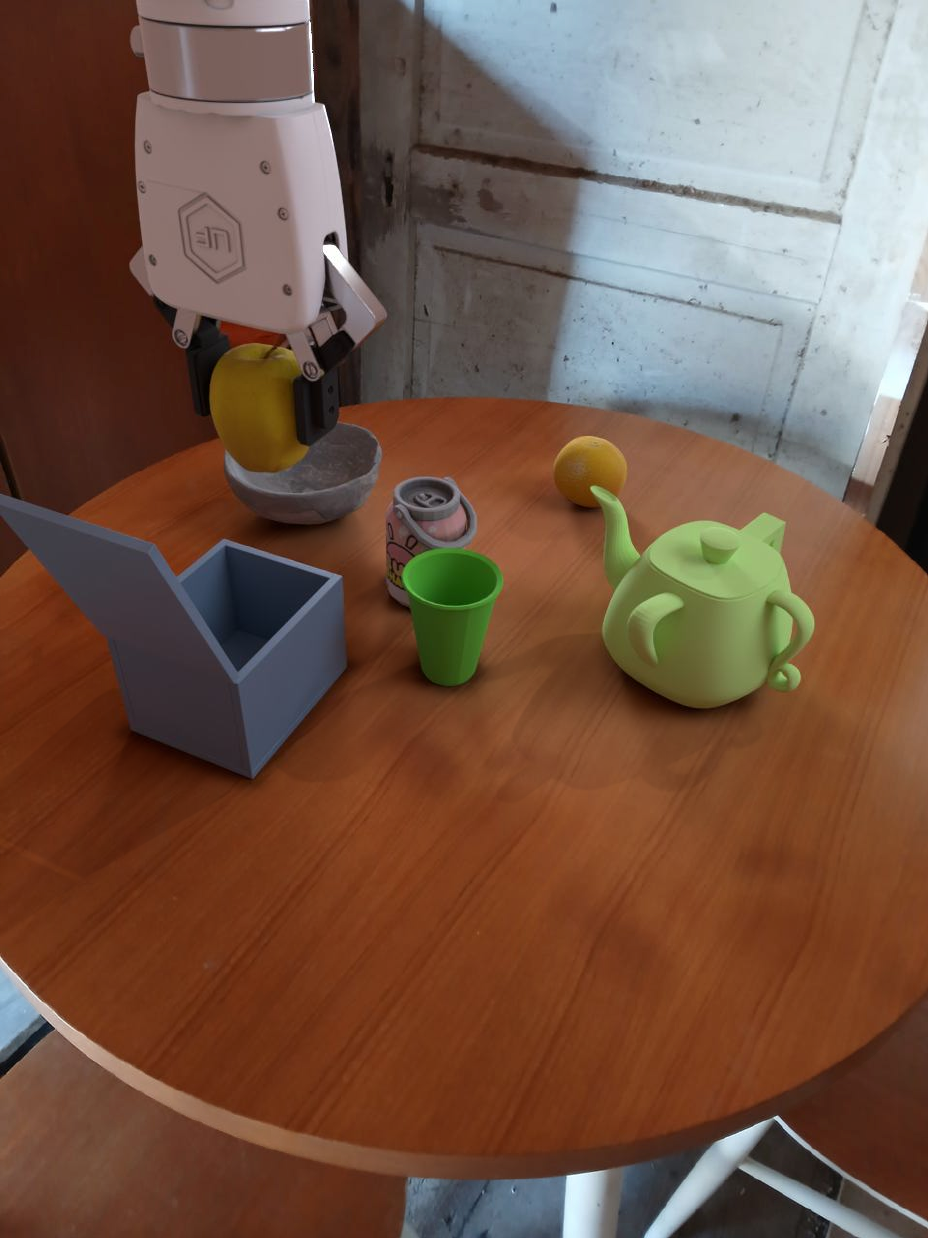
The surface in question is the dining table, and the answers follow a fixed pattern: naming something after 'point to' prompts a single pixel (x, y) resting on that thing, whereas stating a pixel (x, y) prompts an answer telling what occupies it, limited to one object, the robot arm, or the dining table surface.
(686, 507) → the dining table surface
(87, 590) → the lid
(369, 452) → the bowl
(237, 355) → the apple
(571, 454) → the fruit
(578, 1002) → the dining table surface
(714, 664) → the teapot
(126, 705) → the chest
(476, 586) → the cup
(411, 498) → the beverage can
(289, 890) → the dining table surface
